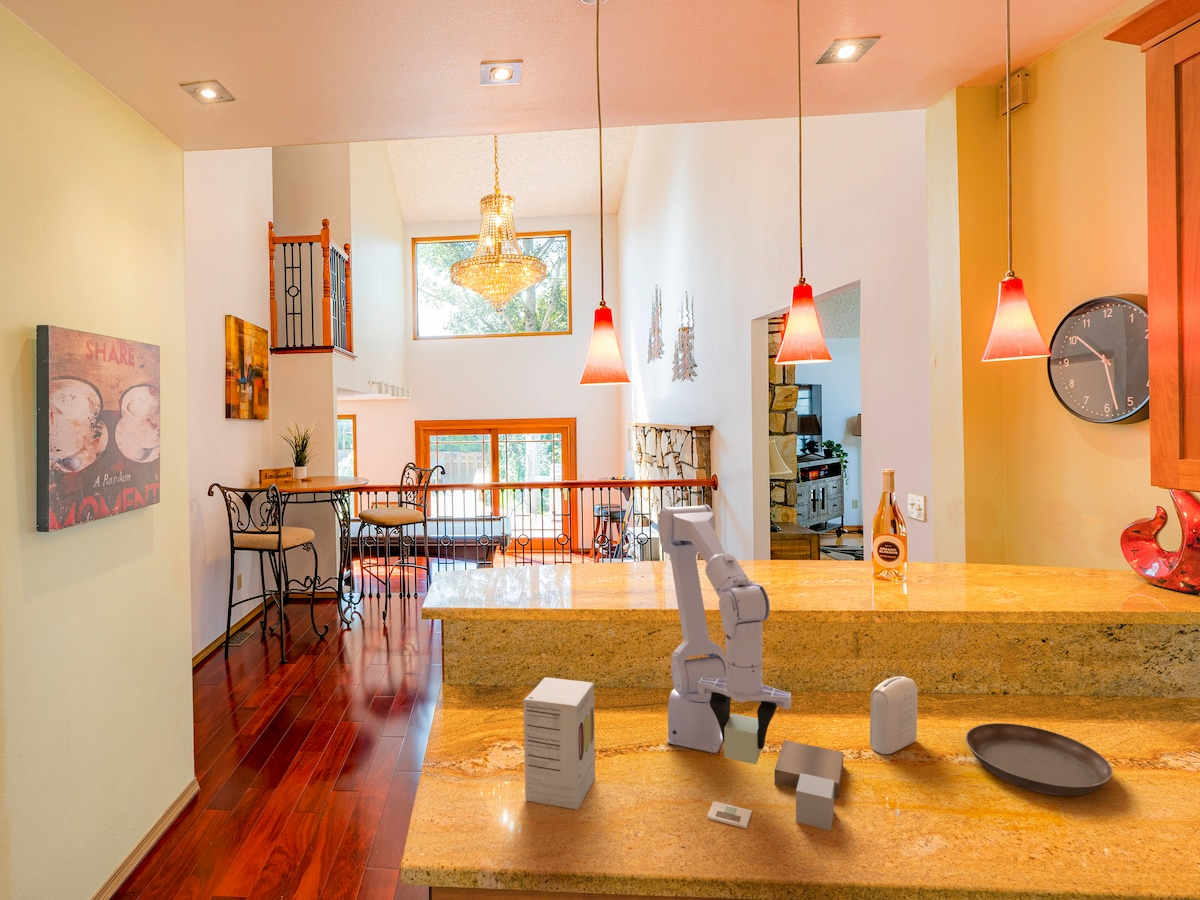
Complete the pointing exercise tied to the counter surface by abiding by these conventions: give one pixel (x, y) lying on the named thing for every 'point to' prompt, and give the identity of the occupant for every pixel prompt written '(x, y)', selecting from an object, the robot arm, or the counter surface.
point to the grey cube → (815, 801)
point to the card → (729, 814)
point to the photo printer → (893, 715)
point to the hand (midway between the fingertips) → (743, 742)
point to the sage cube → (742, 739)
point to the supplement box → (559, 742)
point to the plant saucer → (1038, 759)
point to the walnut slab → (808, 764)
